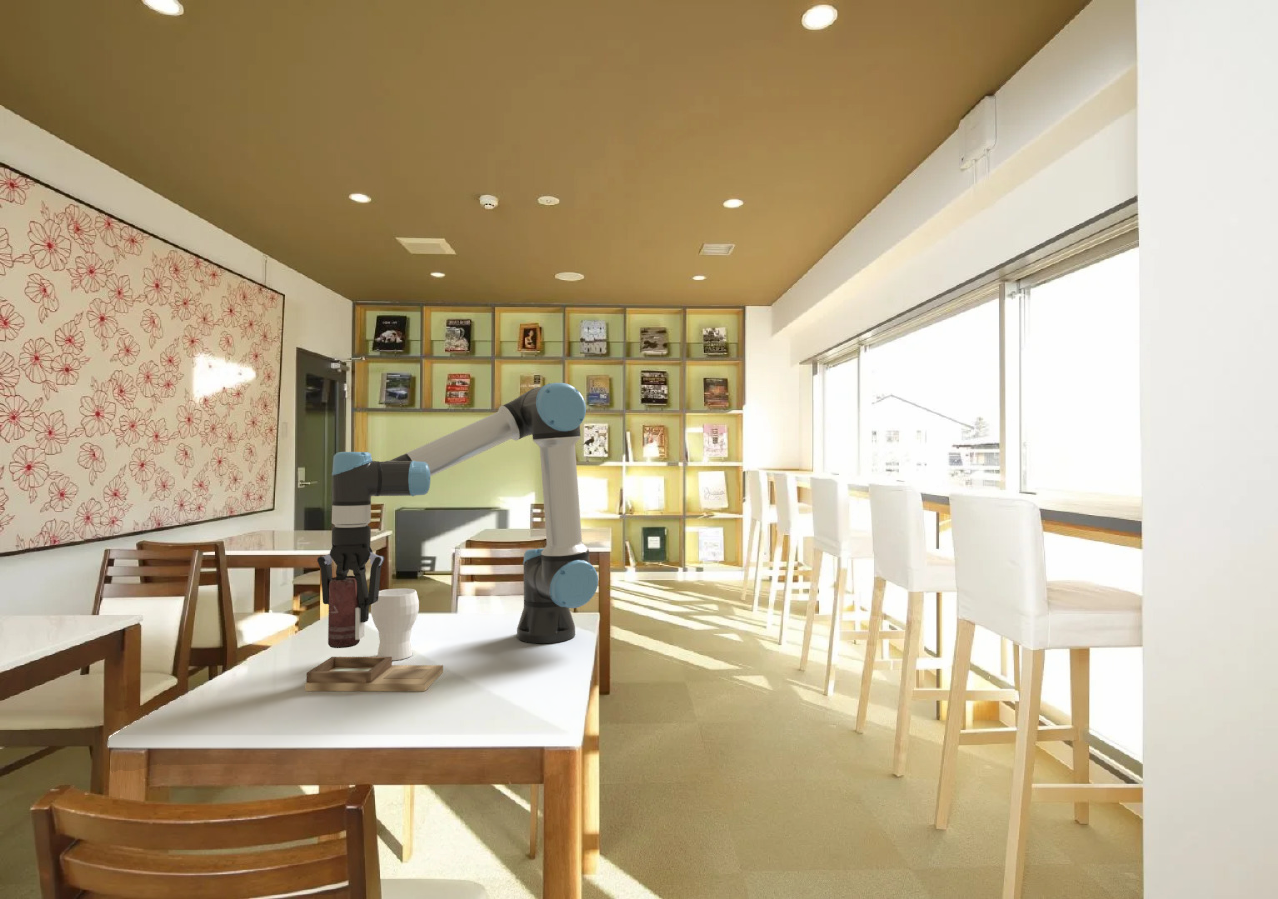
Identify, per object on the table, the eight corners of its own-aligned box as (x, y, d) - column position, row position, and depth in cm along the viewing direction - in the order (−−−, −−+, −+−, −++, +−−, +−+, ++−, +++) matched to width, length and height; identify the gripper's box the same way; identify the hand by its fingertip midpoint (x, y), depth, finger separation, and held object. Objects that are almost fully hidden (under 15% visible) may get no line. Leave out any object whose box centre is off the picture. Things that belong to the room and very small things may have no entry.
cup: (360, 659, 156) (360, 594, 156) (396, 647, 165) (396, 586, 165) (393, 665, 151) (393, 598, 151) (428, 653, 160) (428, 590, 160)
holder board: (443, 672, 146) (443, 656, 146) (424, 691, 134) (424, 673, 134) (333, 672, 146) (333, 656, 146) (305, 691, 134) (305, 673, 134)
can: (348, 649, 136) (349, 580, 137) (321, 647, 138) (322, 579, 138) (367, 642, 142) (368, 575, 143) (341, 639, 144) (342, 574, 144)
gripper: (396, 523, 144) (395, 633, 144) (321, 523, 144) (320, 633, 144) (383, 527, 137) (382, 642, 136) (303, 526, 137) (302, 642, 136)
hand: (350, 637), depth 140 cm, fingers open, 3 cm apart
